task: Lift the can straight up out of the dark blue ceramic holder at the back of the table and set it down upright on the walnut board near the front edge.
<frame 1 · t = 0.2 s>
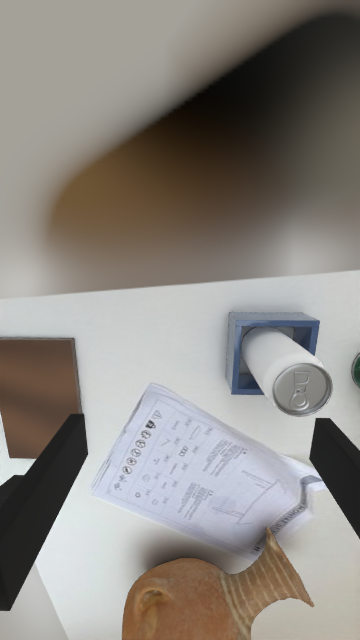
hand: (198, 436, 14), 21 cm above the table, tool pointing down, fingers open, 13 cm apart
jug: (210, 560, 45), on the table
holder: (262, 346, 34), on the table
can: (262, 346, 35), resting in holder
board: (41, 399, 37), on the table
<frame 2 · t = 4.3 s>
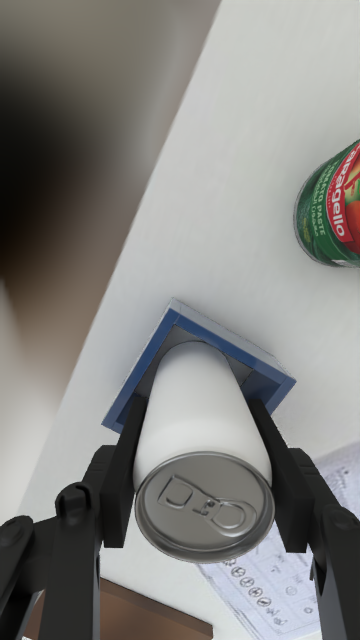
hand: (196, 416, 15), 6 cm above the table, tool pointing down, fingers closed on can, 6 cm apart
holder: (193, 374, 21), on the table
can: (193, 373, 21), resting in holder, touching gripper
canned tomato: (345, 213, 18), on the table
board: (116, 623, 29), on the table
when the fingers open (7 cm above the table, at t = 12.8 s): can stays where it is, resting on board.
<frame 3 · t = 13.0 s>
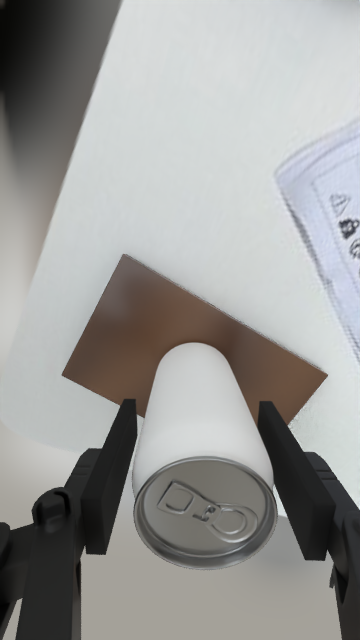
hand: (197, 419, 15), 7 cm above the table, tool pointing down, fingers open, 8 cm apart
can: (193, 374, 21), point 1 cm above the table, touching board
board: (193, 370, 22), on the table
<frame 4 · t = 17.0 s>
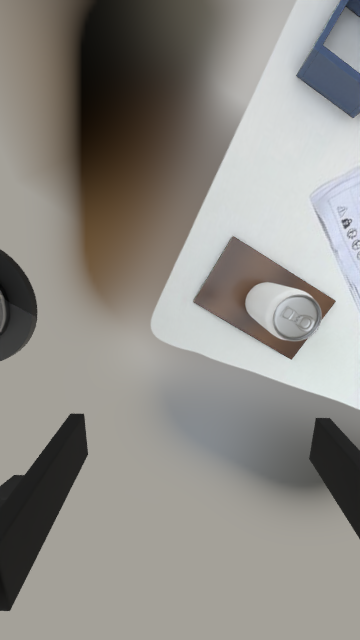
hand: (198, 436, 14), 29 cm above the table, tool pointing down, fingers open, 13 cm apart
holder: (348, 59, 33), on the table
can: (263, 301, 40), point 1 cm above the table, touching board
board: (262, 300, 41), on the table
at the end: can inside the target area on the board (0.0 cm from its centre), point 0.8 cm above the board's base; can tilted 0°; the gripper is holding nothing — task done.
